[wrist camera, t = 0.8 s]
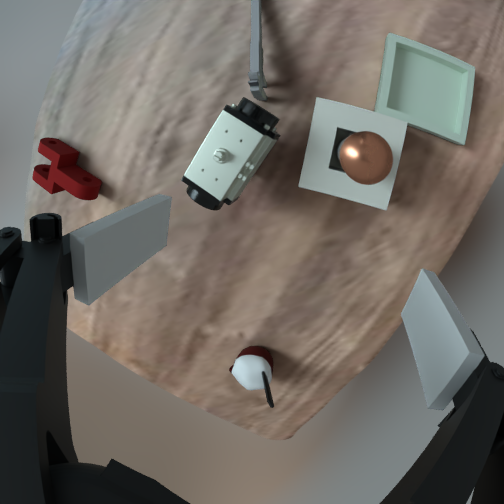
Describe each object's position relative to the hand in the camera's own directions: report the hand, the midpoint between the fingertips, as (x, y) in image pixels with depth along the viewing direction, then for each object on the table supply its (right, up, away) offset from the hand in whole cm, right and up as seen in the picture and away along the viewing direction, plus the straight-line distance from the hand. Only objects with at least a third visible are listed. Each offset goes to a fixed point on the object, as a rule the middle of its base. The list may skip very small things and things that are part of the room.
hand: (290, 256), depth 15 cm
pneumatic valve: (-2, +13, +23) cm, 27 cm away
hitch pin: (+10, +12, +19) cm, 25 cm away
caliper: (-1, +29, +17) cm, 34 cm away
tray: (+20, +21, +15) cm, 32 cm away
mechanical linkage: (-33, +14, +31) cm, 47 cm away
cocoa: (-1, -17, +34) cm, 38 cm away
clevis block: (+10, +13, +20) cm, 26 cm away
